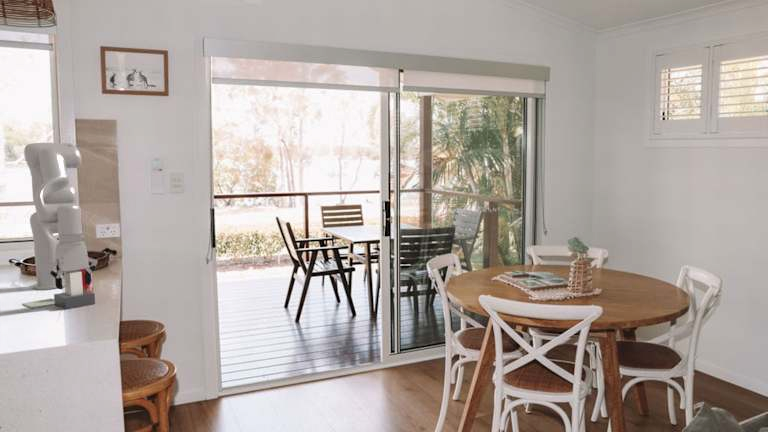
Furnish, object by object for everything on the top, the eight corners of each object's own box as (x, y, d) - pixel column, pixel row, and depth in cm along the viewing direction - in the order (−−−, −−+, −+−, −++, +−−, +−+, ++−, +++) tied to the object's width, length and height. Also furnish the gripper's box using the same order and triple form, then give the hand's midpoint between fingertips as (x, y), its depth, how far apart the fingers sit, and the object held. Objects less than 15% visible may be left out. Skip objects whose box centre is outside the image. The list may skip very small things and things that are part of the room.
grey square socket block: (54, 305, 219) (54, 294, 219) (83, 300, 226) (82, 289, 226) (66, 309, 212) (65, 298, 212) (95, 304, 220) (94, 293, 219)
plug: (66, 304, 220) (64, 271, 218) (77, 302, 223) (75, 270, 221) (72, 306, 216) (69, 273, 215) (83, 304, 219) (81, 271, 218)
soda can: (85, 299, 227) (83, 268, 226) (68, 299, 228) (66, 267, 227) (97, 295, 234) (95, 264, 233) (81, 295, 235) (79, 264, 234)
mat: (22, 304, 221) (22, 303, 221) (51, 299, 228) (51, 298, 228) (32, 308, 214) (32, 307, 214) (62, 303, 222) (62, 302, 222)
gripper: (91, 236, 226) (94, 281, 227) (40, 241, 213) (44, 289, 215) (99, 237, 221) (102, 283, 223) (48, 242, 208) (52, 291, 210)
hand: (74, 286), depth 219 cm, fingers open, 9 cm apart
